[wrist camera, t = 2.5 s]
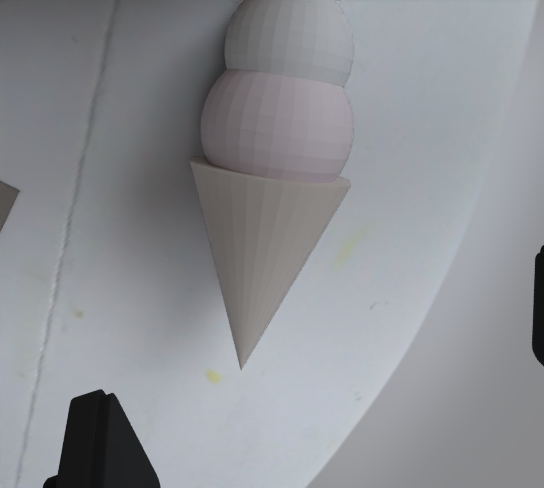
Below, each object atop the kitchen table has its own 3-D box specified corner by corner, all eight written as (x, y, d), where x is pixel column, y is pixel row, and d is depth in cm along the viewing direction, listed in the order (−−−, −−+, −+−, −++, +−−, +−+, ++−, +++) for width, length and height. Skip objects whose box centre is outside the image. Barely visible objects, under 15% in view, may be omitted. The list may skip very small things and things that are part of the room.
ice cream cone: (217, 325, 25) (261, -1, 21) (332, 367, 23) (405, 9, 19) (134, 374, 20) (173, -50, 16) (275, 435, 18) (360, -45, 14)
